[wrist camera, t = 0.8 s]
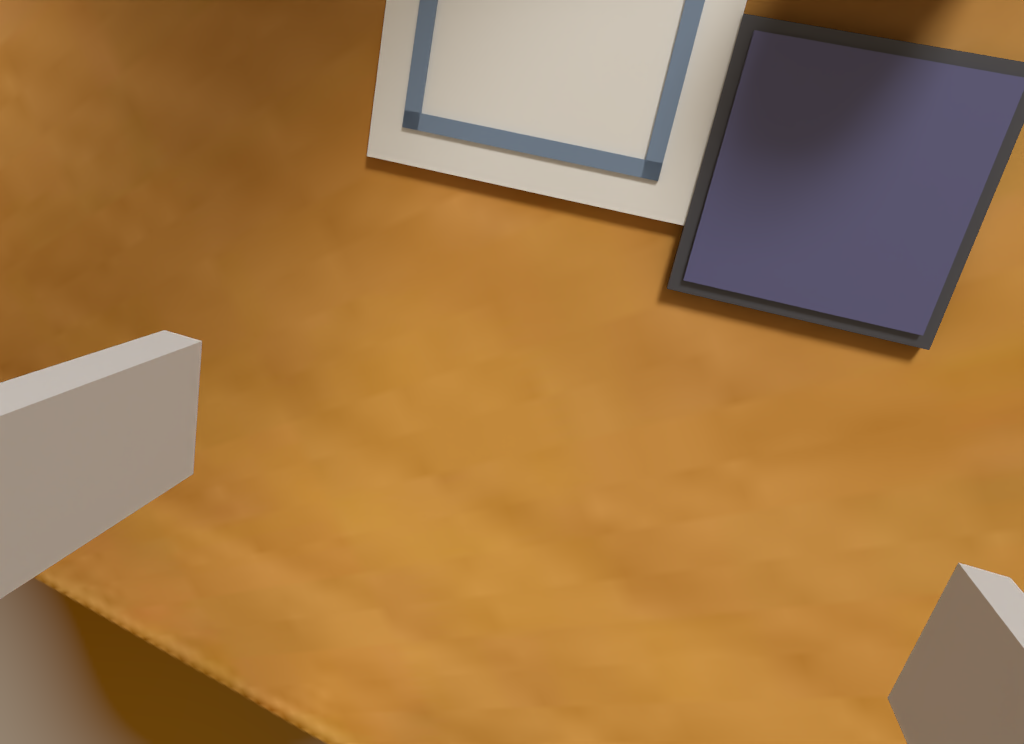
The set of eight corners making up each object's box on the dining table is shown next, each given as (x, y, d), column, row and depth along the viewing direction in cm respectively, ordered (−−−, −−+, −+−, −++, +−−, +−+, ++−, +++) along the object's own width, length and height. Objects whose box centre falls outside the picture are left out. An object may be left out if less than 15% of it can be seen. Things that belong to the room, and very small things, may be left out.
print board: (420, -223, 29) (413, -234, 28) (794, -173, 27) (798, -183, 26) (371, 156, 34) (365, 155, 33) (683, 225, 32) (684, 226, 31)
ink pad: (741, 18, 29) (744, 11, 28) (1036, 69, 27) (1051, 64, 26) (667, 286, 33) (667, 289, 32) (922, 345, 31) (931, 351, 30)
